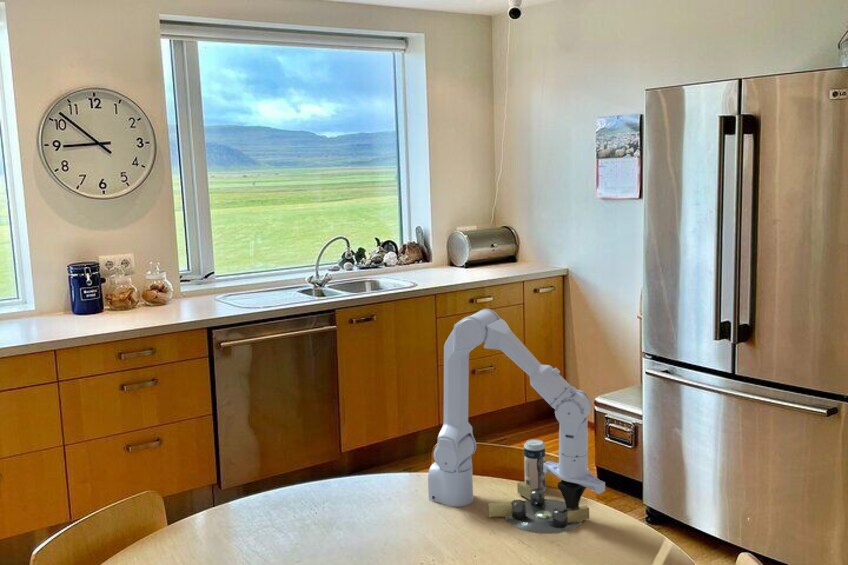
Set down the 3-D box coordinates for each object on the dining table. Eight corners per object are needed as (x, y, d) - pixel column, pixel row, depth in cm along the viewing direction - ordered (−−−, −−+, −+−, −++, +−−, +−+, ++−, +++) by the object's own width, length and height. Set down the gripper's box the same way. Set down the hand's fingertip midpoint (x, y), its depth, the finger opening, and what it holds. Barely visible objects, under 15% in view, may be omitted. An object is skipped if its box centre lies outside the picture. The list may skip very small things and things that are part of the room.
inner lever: (524, 511, 160) (524, 499, 160) (527, 518, 157) (526, 505, 157) (488, 513, 160) (487, 501, 159) (489, 520, 157) (489, 507, 157)
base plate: (492, 529, 156) (492, 522, 156) (522, 498, 170) (522, 492, 169) (568, 545, 148) (567, 538, 148) (592, 512, 162) (592, 505, 161)
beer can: (545, 498, 169) (544, 446, 168) (524, 497, 170) (522, 445, 169) (546, 489, 174) (545, 438, 172) (525, 488, 175) (524, 438, 173)
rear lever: (547, 504, 163) (547, 491, 163) (536, 507, 162) (536, 495, 161) (525, 491, 170) (524, 480, 169) (514, 495, 168) (514, 483, 168)
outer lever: (556, 528, 152) (556, 515, 152) (550, 521, 155) (549, 508, 155) (591, 522, 154) (591, 509, 154) (584, 516, 157) (584, 503, 157)
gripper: (615, 456, 151) (614, 521, 153) (559, 437, 162) (559, 497, 164) (592, 466, 146) (591, 532, 149) (536, 445, 158) (536, 507, 160)
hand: (573, 514), depth 156 cm, fingers closed, pressing on outer lever
